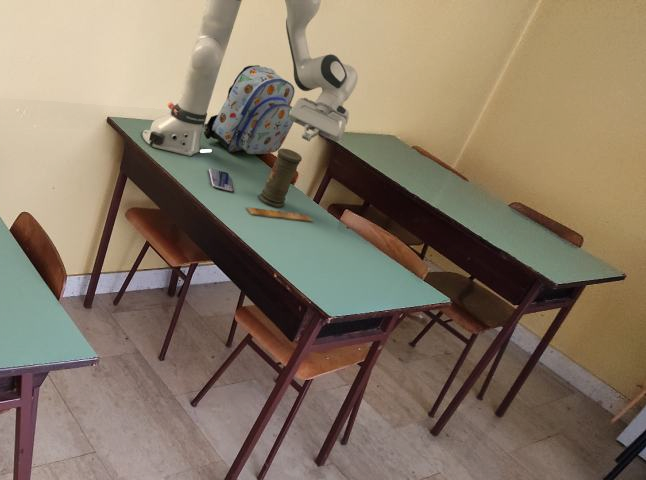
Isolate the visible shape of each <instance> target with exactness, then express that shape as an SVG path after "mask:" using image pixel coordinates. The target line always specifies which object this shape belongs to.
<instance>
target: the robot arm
mask: <svg viewBox="0 0 646 480" xmlns="http://www.w3.org/2000/svg"><path fill="white" fill-rule="evenodd" d="M321 1H322V0H284V3H285V7H286V19H285V30H286V35H287V40H288V45H289V50H290V55H291V59H292V60H291V61H292V65H293V66H292V68H293V79H294V83H295V85H296V86H297V87H298V89H300V90H301V91H303V92H310V91H313V90H316V89H318V88H321V93H320V94H319V96H318V97H317V99H316V100H315V101H313V100H311V99H308V98H306V97H300V98H297V101H296V102H295V104H294V105H293V106H292V107H293V108H292V109H291V110H290V112H289V119H290V120H291V121H293V123H296V124H297V125H299V126H301V127H303V128H304V130H303V131H304V132H303V133H302V135H301V138H302V139H303V140H306V141H307V142H310V141H311V140H312V139H313V138H315V137H317V136H318V135H321V136H322V137H325V138H327V139H329V140H330V141H333V142H335V143H336V142H339V141H341V139H342V137H343V135H344V133H345V130H346V126H347V125H348V123H349V122H348V121H349V115H350V114H349V113H350V112H349V110H348V109H346V107H344V104H345V102H346V101H348V99H349V98H350V96H351V95H352V93H353V92H354V89H356V86H357V82H358V79H359V76H358V72H357V70H356V69H355V68H354V67H353V66H352V65H349V64H345V63H343V62H342V61H341V59H340V58H339V57H338V56H337V55H335V54H325V55H321V56H318V57H315V58H312V57H311V56H310V52H309V47H308V46H309V45H308V41H307V36H306V30H307V27H308V25H309V23H310V22H311V21H312V20H313V18H315V16H317V13H318V12H319V10H320V7H321V3H322V2H321ZM242 2H243V0H206V2H205V7H204V10H203V14H202V17H201V22H200V25H199V29H198V33H197V37H196V39H195V43H194V45H193V47H192V49H191V51H190V54H189V58H188V63H187V67H186V70H185V75H184V79H183V83H182V88H181V91H180V95H179V99H178V102H176V103H175V104H173V102H172V101H170V102H168V104H167V107H168V109H169V110H170V113H167V114H165V115H162V116H161V117H159V118H158V117H157V118H156V119H154V120H153V121H152V123H151V125H150V127H149V129H144V130H143V131H142V133H141V134H142V135H141V136H142V138H143V139H144V141H145V142H146V143H147V144H148V145H149V146H151V147H153V148H155V149H160V150H162V151H163V150H164V151H168V152H172V153H177V154H181V155H183V156H184V155H185V156H193V154H198V153H199V152H200V153H211V152H212V149H201V146H200V145H201V137H202V131H203V128H204V127H205V124H206V120H207V118H208V109H209V107H210V103H211V100H212V96H213V93H214V89H215V86H216V83H217V80H218V76H219V73H220V70H221V66H222V62H223V60H224V57H225V55H226V52H227V48H228V45H229V41H230V39H231V36H232V34H233V33H232V32H233V30H234V26H235V23H236V21H237V17H238V13H239V11H240V7H241V5H242ZM309 130H310V131H312V132H311V133H309Z"/></svg>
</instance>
